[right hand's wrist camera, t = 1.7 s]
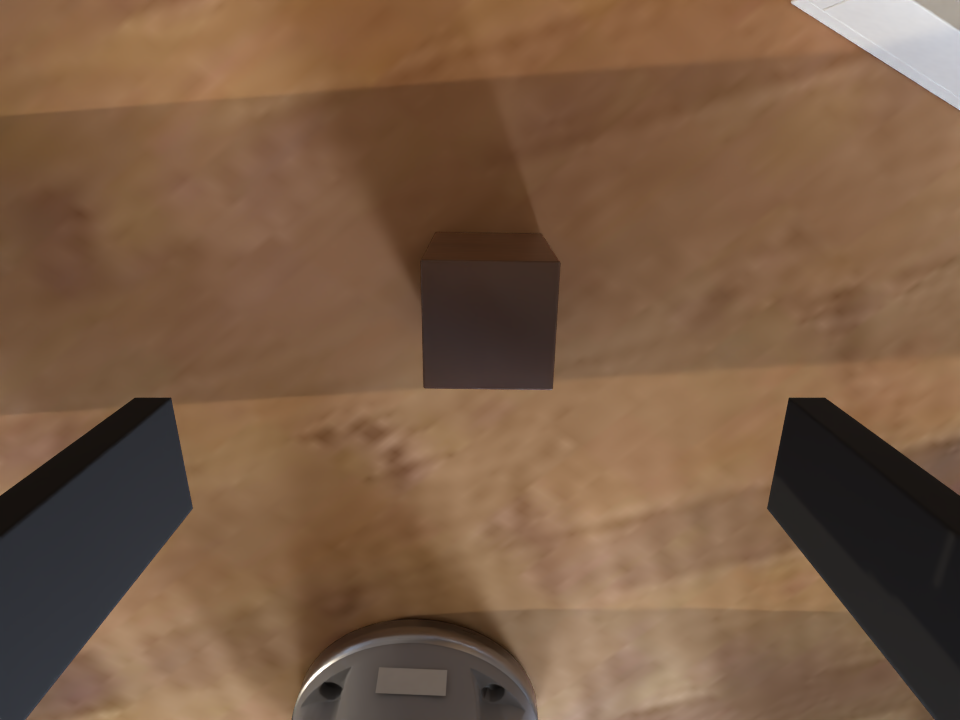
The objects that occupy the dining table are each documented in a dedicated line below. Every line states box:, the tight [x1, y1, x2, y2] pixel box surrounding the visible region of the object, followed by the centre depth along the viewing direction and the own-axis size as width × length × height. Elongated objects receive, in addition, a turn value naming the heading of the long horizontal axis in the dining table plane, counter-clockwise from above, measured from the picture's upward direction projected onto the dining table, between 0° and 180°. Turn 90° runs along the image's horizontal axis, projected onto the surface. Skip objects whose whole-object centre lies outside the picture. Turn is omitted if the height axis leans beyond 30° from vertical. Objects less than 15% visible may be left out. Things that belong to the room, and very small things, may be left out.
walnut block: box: [421, 232, 560, 390], centre depth 25 cm, size 5×5×7 cm
